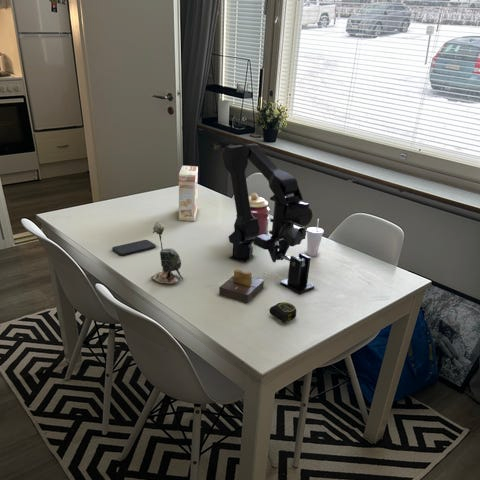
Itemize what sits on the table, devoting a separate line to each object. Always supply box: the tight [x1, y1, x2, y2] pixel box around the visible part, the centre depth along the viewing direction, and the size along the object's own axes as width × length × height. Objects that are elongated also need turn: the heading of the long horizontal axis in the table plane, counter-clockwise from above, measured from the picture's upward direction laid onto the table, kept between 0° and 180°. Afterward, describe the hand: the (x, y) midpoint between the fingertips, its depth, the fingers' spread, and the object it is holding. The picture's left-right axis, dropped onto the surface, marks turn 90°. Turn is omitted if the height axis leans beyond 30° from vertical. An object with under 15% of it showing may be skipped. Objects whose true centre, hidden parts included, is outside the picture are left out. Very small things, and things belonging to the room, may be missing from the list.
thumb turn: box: [233, 268, 253, 286], centre depth 161 cm, size 6×2×4 cm, turn 64°
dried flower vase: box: [150, 222, 184, 285], centre depth 162 cm, size 8×11×20 cm
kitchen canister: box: [236, 192, 271, 236], centre depth 200 cm, size 13×13×18 cm
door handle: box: [276, 250, 305, 267], centre depth 167 cm, size 13×3×3 cm, turn 41°
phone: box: [111, 239, 157, 256], centre depth 188 cm, size 7×1×15 cm
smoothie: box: [306, 218, 325, 257], centre depth 189 cm, size 6×6×14 cm
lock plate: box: [218, 275, 265, 304], centre depth 163 cm, size 12×10×3 cm
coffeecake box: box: [178, 165, 199, 222], centre depth 218 cm, size 15×7×20 cm, turn 179°
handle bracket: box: [279, 252, 315, 296], centre depth 166 cm, size 9×7×11 cm
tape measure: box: [269, 301, 297, 324], centre depth 149 cm, size 7×7×4 cm
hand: (277, 261), depth 172 cm, fingers closed on door handle, 3 cm apart
